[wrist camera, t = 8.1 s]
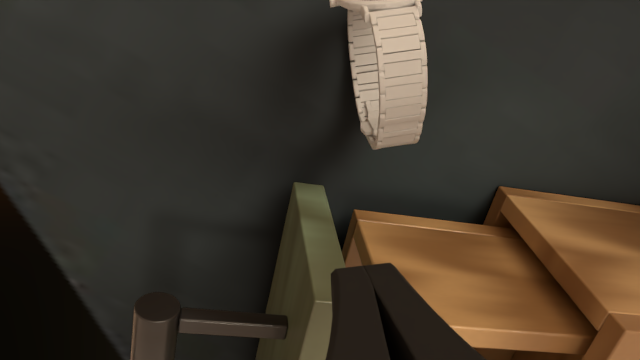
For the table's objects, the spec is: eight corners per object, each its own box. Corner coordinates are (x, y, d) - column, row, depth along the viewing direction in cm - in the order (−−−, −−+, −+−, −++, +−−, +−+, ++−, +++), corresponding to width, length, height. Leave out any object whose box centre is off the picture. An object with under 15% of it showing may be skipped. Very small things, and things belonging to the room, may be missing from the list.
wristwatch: (402, -33, 18) (454, -10, 13) (405, 105, 20) (450, 164, 16) (317, -23, 18) (342, 5, 13) (331, 116, 20) (356, 178, 16)
